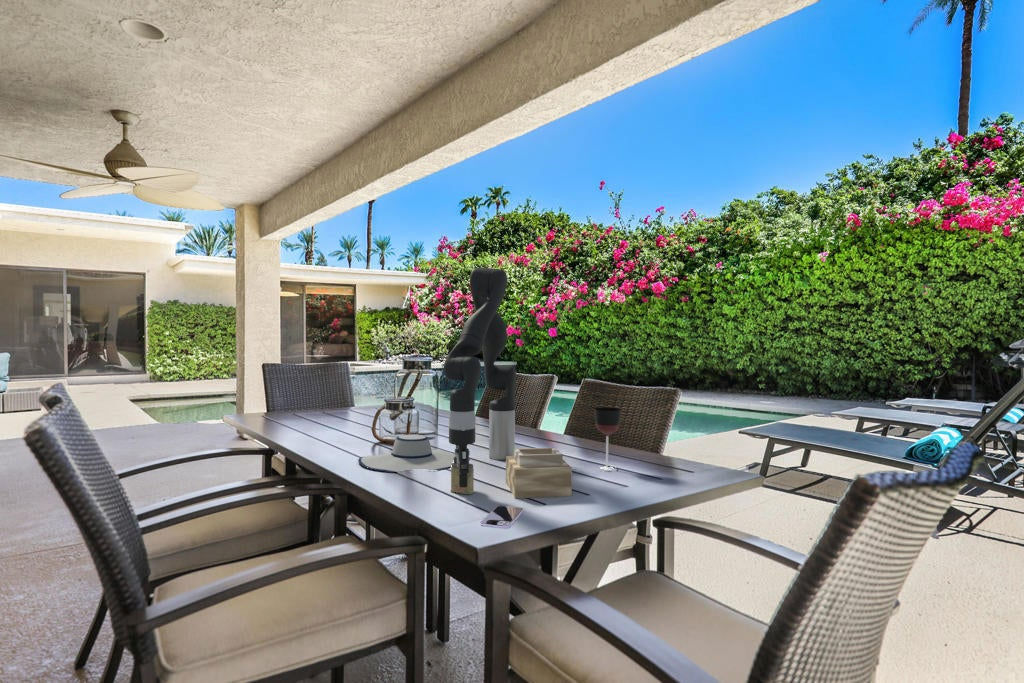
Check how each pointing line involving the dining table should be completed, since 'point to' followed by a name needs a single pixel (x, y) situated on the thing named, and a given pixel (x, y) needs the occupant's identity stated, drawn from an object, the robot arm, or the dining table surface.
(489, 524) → the mobile phone
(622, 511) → the dining table surface
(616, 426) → the wineglass
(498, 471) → the dining table surface
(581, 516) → the dining table surface
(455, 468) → the lighter
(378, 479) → the dining table surface
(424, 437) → the sun hat
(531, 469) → the holder stand
